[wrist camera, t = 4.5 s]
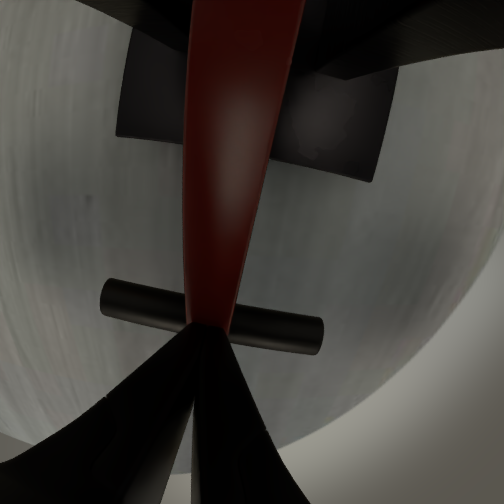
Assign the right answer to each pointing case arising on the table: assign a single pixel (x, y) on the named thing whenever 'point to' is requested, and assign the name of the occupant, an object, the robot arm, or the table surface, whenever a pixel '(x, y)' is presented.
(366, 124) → the bracket
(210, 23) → the lever
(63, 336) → the table surface
